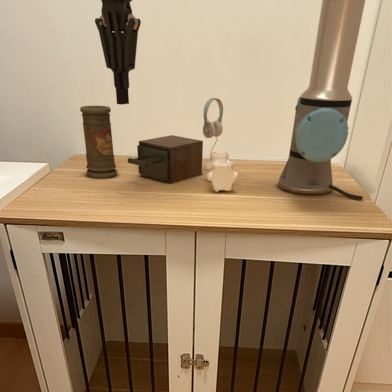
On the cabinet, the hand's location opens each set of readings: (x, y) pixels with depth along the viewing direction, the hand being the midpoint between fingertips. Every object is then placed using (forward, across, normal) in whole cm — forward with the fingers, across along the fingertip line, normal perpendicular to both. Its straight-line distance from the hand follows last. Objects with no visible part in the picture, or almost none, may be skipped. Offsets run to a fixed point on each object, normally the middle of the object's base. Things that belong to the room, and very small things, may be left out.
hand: (123, 103), depth 102 cm
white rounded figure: (+21, +17, +20) cm, 33 cm away
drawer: (+20, -1, +14) cm, 24 cm away
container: (+21, -16, +4) cm, 26 cm away
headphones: (+21, +3, +34) cm, 40 cm away
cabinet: (+20, -1, +19) cm, 28 cm away
